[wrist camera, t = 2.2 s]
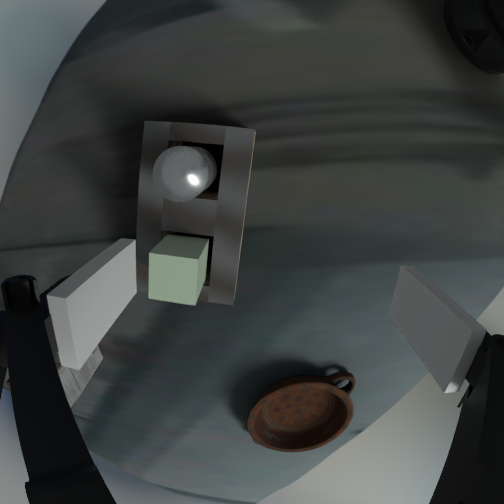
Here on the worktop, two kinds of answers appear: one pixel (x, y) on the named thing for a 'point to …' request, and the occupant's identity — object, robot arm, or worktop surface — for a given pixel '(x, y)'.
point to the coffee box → (76, 375)
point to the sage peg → (178, 269)
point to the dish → (302, 412)
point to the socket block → (196, 203)
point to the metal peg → (184, 172)
